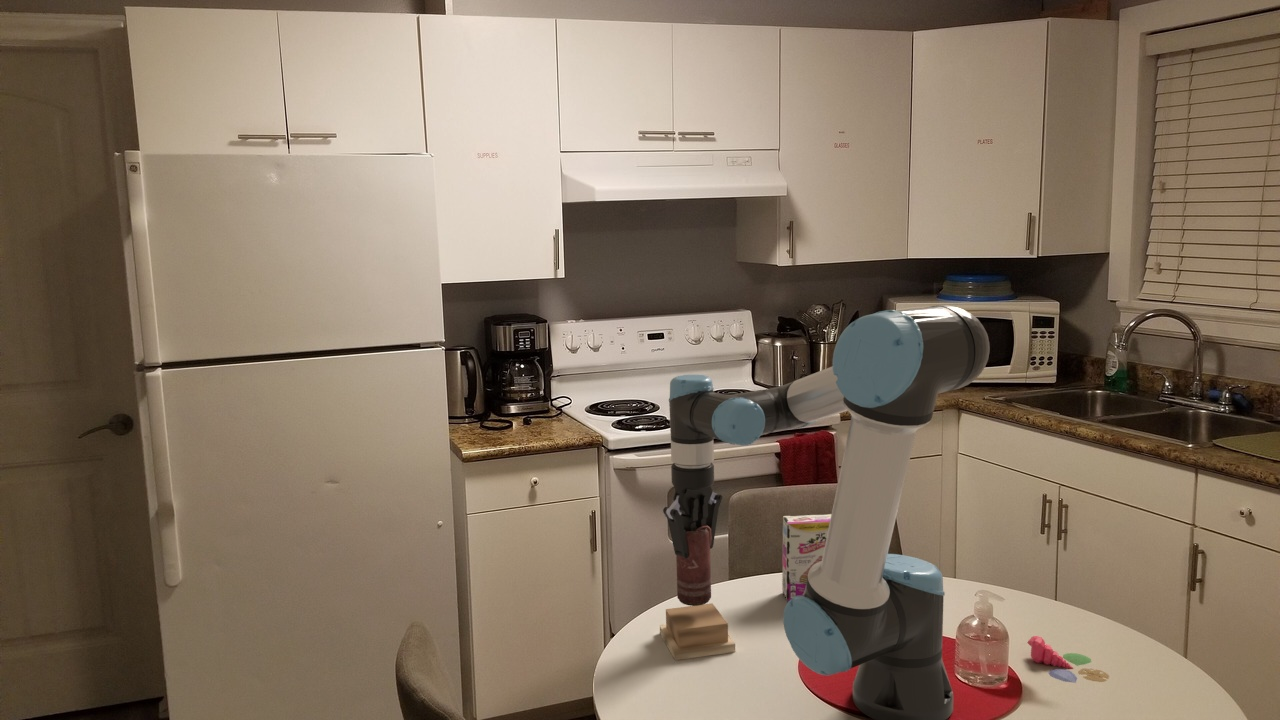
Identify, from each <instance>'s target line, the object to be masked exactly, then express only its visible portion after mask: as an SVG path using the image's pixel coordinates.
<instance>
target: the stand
mask: <svg viewBox="0 0 1280 720" xmlns="http://www.w3.org/2000/svg"><path fill="white" fill-rule="evenodd" d="M659 634H660V636H661V638H662V639H663V641H664V643H665V644H666V647H667V648H668V650H669V652H670V654H671V655H672V657H673V658H674V661H678V660H679V661H680V660H685V659H694V658H701V657H707V656H715V655H723V654H729V653H735V652H736V642H735V641H734V640H733V639H732V637H731V636H730V634H729V623H728V622H727V620H726V619H725V617H724V616H723V615H722V613H720V611H719V610H718V609H717V607H716V606H715V605H714V603H706V604H703V605H699V606H690V605H686V606H680V607H672V608H666V609H665V624H662V625H659Z"/></svg>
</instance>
